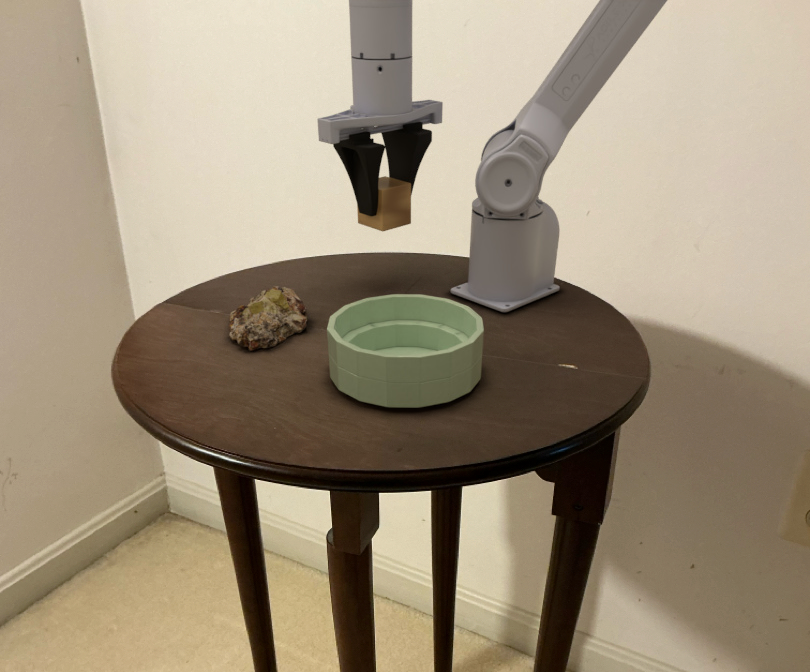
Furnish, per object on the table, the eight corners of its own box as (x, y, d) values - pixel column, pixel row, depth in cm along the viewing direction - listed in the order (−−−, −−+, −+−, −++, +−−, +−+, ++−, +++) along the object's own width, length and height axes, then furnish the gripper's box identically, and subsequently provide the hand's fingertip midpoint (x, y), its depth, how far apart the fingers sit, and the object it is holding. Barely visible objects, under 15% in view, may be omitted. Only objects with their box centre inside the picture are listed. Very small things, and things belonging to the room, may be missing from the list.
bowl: (407, 333, 76) (407, 283, 73) (510, 377, 68) (515, 323, 65) (301, 375, 69) (296, 321, 66) (402, 429, 61) (402, 372, 58)
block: (385, 215, 83) (385, 175, 81) (411, 223, 81) (411, 183, 78) (357, 223, 81) (356, 182, 78) (382, 231, 79) (382, 190, 76)
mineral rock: (239, 284, 80) (308, 268, 77) (255, 323, 82) (323, 309, 80) (198, 328, 72) (274, 312, 69) (217, 370, 74) (291, 356, 72)
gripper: (409, 46, 78) (409, 189, 86) (293, 59, 70) (305, 215, 78) (459, 52, 74) (454, 202, 82) (342, 67, 66) (349, 230, 74)
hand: (384, 209), depth 80 cm, fingers closed on block, 4 cm apart
